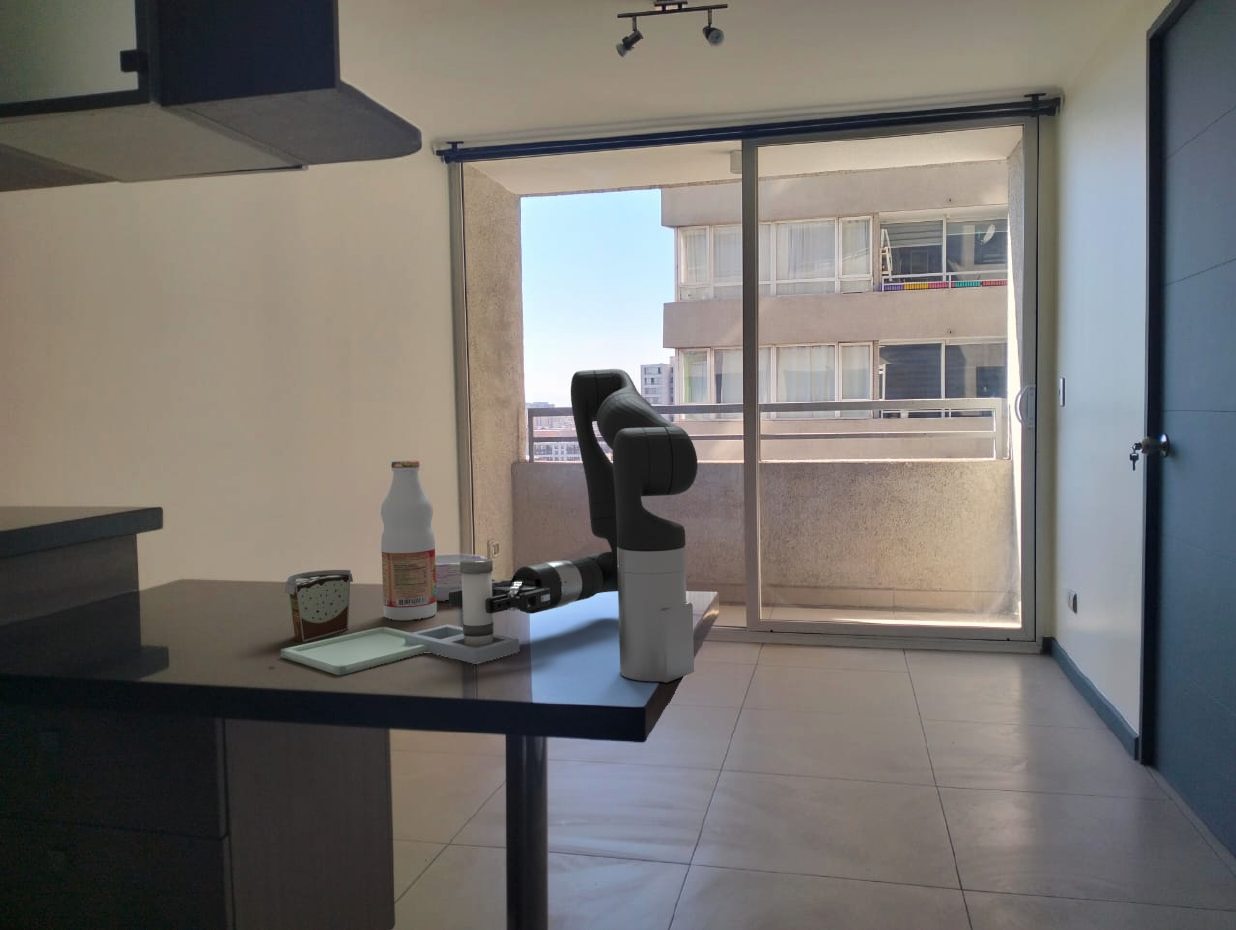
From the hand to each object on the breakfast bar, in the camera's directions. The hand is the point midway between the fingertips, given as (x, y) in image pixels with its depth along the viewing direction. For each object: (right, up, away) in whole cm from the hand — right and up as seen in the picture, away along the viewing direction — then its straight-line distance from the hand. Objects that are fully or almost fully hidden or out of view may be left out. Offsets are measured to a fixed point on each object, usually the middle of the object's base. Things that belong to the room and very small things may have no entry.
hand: (468, 602), depth 129 cm
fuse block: (-2, -8, +4) cm, 9 cm away
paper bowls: (-12, -6, +46) cm, 48 cm away
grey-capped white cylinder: (+1, -8, +2) cm, 8 cm away
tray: (-17, -8, +4) cm, 19 cm away
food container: (-29, -8, +17) cm, 35 cm away
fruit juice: (-15, -7, +30) cm, 34 cm away
